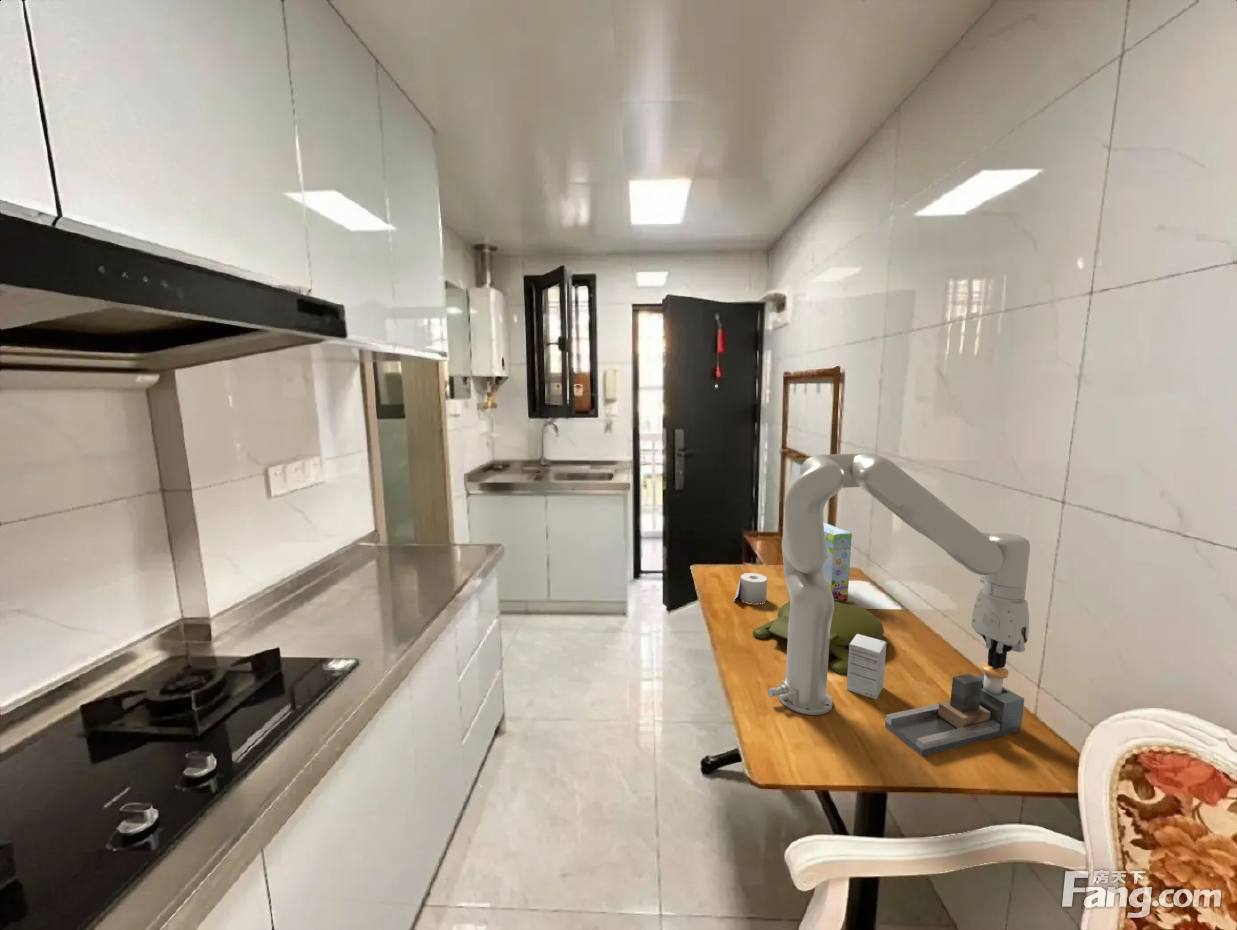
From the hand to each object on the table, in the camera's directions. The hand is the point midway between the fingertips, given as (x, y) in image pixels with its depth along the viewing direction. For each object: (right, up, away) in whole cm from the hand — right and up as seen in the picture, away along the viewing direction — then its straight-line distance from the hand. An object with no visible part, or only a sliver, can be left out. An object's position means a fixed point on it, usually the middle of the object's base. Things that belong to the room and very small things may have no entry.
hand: (996, 666), depth 119 cm
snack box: (-9, -2, +80) cm, 81 cm away
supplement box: (-23, -12, +15) cm, 30 cm away
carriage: (-8, -12, -1) cm, 14 cm away
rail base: (-11, -14, -1) cm, 18 cm away
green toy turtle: (-22, -8, +43) cm, 49 cm away
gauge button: (0, -8, +1) cm, 9 cm away
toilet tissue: (-38, -4, +71) cm, 81 cm away
